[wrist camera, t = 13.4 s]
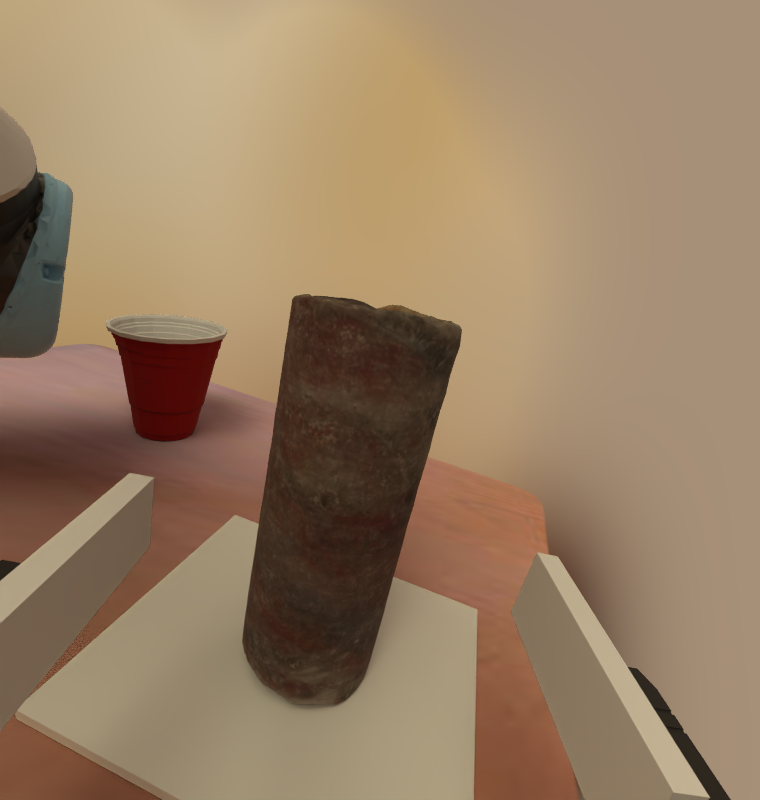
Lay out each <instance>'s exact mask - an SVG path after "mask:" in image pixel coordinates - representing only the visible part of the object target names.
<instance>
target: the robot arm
mask: <svg viewBox="0 0 760 800" xmlns="http://www.w3.org/2000/svg"><path fill="white" fill-rule="evenodd" d="M72 202H73V193H72V190H71V188H70V187H69V186H68V185H67V184H65V183H64V182H62V181H60V180H57V179H55V178H54V177H52V176H51V175H50V174H48V173H40V172H39V173H37V165H36V157H35V154H34V150H33V147H32V144H31V141H30V139H29V137H28V136H27V135H26V133H25V131H24V130H23V129H22V127H21V126H20V125H19V124H18V123H17V122H16V121H15V120H14V119H13V118H12V117H11V116H10V115H9V114H8V113H6V112H5V111H4V110H3V109H2V108H1V107H0V358H31V357H36V356H39V355H42V354H44V353H45V352H47V351H48V350H49V349H50V348H51V347H52V346H53V344H54V342H55V339H56V335H57V330H58V323H59V317H60V308H61V301H62V292H63V282H64V271H65V266H66V257H67V252H68V242H69V234H70V225H71V213H72ZM153 491H154V477H149V476H144V475H139V474H133V473H129V474H128V475H127V476H126V477H124V478H123V479H122V480H121V481H120V482H118V483H117V484H116V485H115V486H114V487H112V488H111V489H110V490H109V491H107V492H106V493H105V494H104V495H103V496H101V497H100V498H99V499H98V500H97V501H95V502H94V503H93V504H92V505H91V506H89V507H88V508H87V509H86V510H85V511H83V512H82V513H81V514H80V515H79V516H77V517H76V518H75V519H74V520H73V521H71V522H70V523H69V524H68V525H67V526H65V527H64V528H63V529H62V530H61V531H59V532H58V533H57V534H56V535H55V536H53V537H52V538H51V539H50V540H49V541H47V542H46V543H45V544H44V545H43V546H41V547H40V548H39V549H38V550H37V551H35V552H34V553H33V554H32V555H31V556H29V557H28V558H27V559H26V560H25V561H23V562H22V563H17V562H11V561H5V560H1V561H0V731H1V730H2V729H3V728H4V726H5V725H6V724H7V723H8V721H9V720H10V719H11V718H12V716H13V715H14V714H15V713H16V711H17V710H18V709H19V708H20V707H21V705H22V704H23V703H24V702H25V700H26V699H27V698H28V697H29V695H30V694H31V693H32V692H33V690H34V689H35V688H36V687H37V686H38V684H39V683H40V682H41V681H42V679H43V678H44V677H45V676H46V674H47V673H48V672H49V671H50V669H51V668H52V667H53V666H54V665H55V663H56V662H57V661H58V660H59V658H60V657H61V656H62V655H63V653H64V652H65V651H66V650H67V649H68V647H69V646H70V645H71V644H72V642H73V641H74V640H75V639H76V637H77V636H78V635H79V634H80V632H81V631H82V630H83V629H84V628H85V626H86V625H87V624H88V623H89V621H90V620H91V619H92V618H93V616H94V615H95V614H96V613H97V611H98V610H99V609H100V608H101V607H102V605H103V604H104V603H105V602H106V600H107V599H108V598H109V597H110V595H111V594H112V593H113V592H114V590H115V589H116V588H117V587H118V586H119V584H120V583H121V582H122V581H123V579H124V578H125V577H126V576H127V574H128V573H129V572H130V571H131V569H132V568H133V567H134V566H135V565H136V563H137V562H138V561H139V560H140V558H141V557H142V556H143V555H144V553H145V552H146V551H147V550H148V549H149V547H150V537H151V522H152V506H153ZM511 614H512V616H513V619H514V621H515V624H516V627H517V629H518V632H519V634H520V637H521V639H522V642H523V644H524V647H525V649H526V652H527V655H528V657H529V660H530V662H531V665H532V667H533V670H534V672H535V675H536V677H537V680H538V682H539V685H540V688H541V690H542V693H543V695H544V698H545V700H546V703H547V705H548V708H549V710H550V713H551V716H552V718H553V721H554V723H555V726H556V728H557V731H558V733H559V736H560V738H561V741H562V743H563V746H564V749H565V751H566V754H567V756H568V759H569V761H570V764H571V766H572V769H573V771H574V774H575V776H576V779H577V782H578V784H579V787H580V789H581V792H582V794H583V797H584V799H585V800H730V798H729V797H728V795H727V794H726V792H725V791H724V789H723V788H722V786H721V785H720V783H719V782H718V780H717V779H716V777H715V776H714V774H713V773H712V771H711V770H710V768H709V767H708V765H707V764H706V762H705V761H704V759H703V758H702V756H701V755H700V753H699V752H698V750H697V749H696V747H695V746H694V744H693V743H692V741H691V740H690V738H689V737H688V735H687V734H685V733H684V732H683V728H682V726H681V725H680V723H679V722H678V720H677V719H676V717H675V716H674V715H672V714H671V710H670V709H669V707H668V705H667V704H666V702H665V701H664V699H663V698H662V697H661V695H660V693H659V692H658V690H657V689H656V688H655V687H654V686H653V685H652V684H651V683H650V682H649V681H648V679H646V677H645V676H644V675H643V674H642V673H641V672H640V671H639V670H638V669H636V668H630V667H627V666H626V664H625V662H624V661H623V660H622V658H621V656H620V655H619V653H618V651H617V650H616V648H615V647H614V645H613V643H612V642H611V640H610V639H609V637H608V636H607V634H606V632H605V631H604V629H603V628H602V626H601V625H600V623H599V621H598V620H597V618H596V617H595V615H594V613H593V612H592V610H591V609H590V607H589V605H588V604H587V602H586V601H585V599H584V598H583V596H582V594H581V593H580V591H579V590H578V588H577V586H576V585H575V583H574V582H573V580H572V579H571V577H570V575H569V574H568V572H567V571H566V569H565V567H564V566H563V564H562V563H561V561H560V560H559V558H558V557H557V556H552V555H547V554H542V553H537V554H536V556H535V559H534V561H533V563H532V565H531V568H530V570H529V572H528V574H527V577H526V579H525V581H524V583H523V586H522V588H521V590H520V593H519V595H518V597H517V599H516V602H515V604H514V606H513V608H512V611H511Z"/></svg>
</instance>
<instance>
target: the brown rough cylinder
mask: <svg viewBox="0 0 760 800" xmlns="http://www.w3.org/2000/svg"><path fill="white" fill-rule="evenodd" d="M461 332H462V329H461V327H460V326H459V325H457V324H455V323H453V322H452V321H446V320H440V319H436V318H434V317H432V316H427V315H424V314H421V313H419V312H416V311H413V310H411V309H408V308H406V307H403V306H398V305H389V306H385V307H382V308H378V309H376V308H374V307H372V306H370V305H368V304H366V303H364V302H361V301H358V300H354V299H347V298H335V297H327V296H311V295H309V294H304V295H299V296H295V297H294V298H293V299H292V306H291V312H290V320H289V327H288V333H287V339H286V345H285V352H284V360H283V366H282V373H281V380H280V387H279V395H278V402H277V407H276V413H275V420H274V429H273V437H272V443H271V449H270V455H269V462H268V469H267V475H266V482H265V488H264V495H263V502H262V507H261V513H260V521H259V527H258V532H257V539H256V546H255V553H254V559H253V565H252V570H251V577H250V585H249V591H248V599H247V607H246V613H245V620H244V628H243V638H242V644H243V648H244V653H245V654H246V658H247V661H248V663H249V664H250V666H251V668H252V669H253V671H254V672H255V674H256V676H257V678H258V679H259V680H260V681H261V683H262V684H263V685H265V686H267V687H268V688H270V689H272V690H273V691H275V692H276V693H278V694H279V695H280V696H282V697H283V698H285V699H286V700H288V701H289V702H291V703H295V704H311V705H314V704H335V705H336V704H339V703H341V702H343V701H345V700H346V699H347V698H349V697H350V696H351V695H352V694H353V693H354V692H355V691H356V690H357V688H358V687H359V685H360V683H361V682H362V680H363V678H364V676H365V674H366V671H367V668H368V666H369V663H370V659H371V656H372V652H373V649H374V645H375V642H376V638H377V635H378V632H379V628H380V625H381V621H382V618H383V614H384V610H385V606H386V602H387V598H388V595H389V591H390V588H391V584H392V580H393V576H394V572H395V568H396V565H397V562H398V558H399V555H400V551H401V547H402V544H403V540H404V536H405V532H406V529H407V525H408V521H409V518H410V515H411V512H412V509H413V506H414V502H415V498H416V494H417V490H418V486H419V483H420V480H421V477H422V473H423V470H424V467H425V463H426V460H427V457H428V453H429V450H430V446H431V441H432V437H433V434H434V430H435V427H436V423H437V420H438V416H439V413H440V409H441V406H442V403H443V400H444V397H445V395H446V390H447V386H448V382H449V377H450V374H451V371H452V367H453V364H454V361H455V358H456V356H457V353H458V350H459V347H460V340H461Z"/></svg>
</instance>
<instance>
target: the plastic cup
mask: <svg viewBox="0 0 760 800" xmlns="http://www.w3.org/2000/svg"><path fill="white" fill-rule="evenodd" d="M106 327H107V329H108V331H110V332H111V333H112V335H113V337H114V338H115V341H116V345H117V346H118V350H119V354H120V356H121V360H122V366H123V371H124V377H125V382H126V387H127V393H128V398H129V403H130V404H131V411H132V417H133V423H134V427H135V429H136V433H138V434H139V435H140V436H142V437H144V438H148V439H151V440H158V441H174V440H179V439H183V438H186V437H188V436H190V435H191V434H192V433H193V431H194V429H195V427H196V425H197V421H198V418H199V414H200V411H201V407H202V405H203V403H204V400H205V396H206V393H207V389H208V385H209V382H210V378H211V375H212V371H213V367H214V364H215V360H216V358H217V356H218V351H219V349H220V346H221V342H222V340H223V339H224V337H225V336H226V334H227V331H228V330H227V329H226V328H225V327H224V326H223V325H220V324H217V323H214V322H212V321H207V320H203V319H198V318H192V317H184V316H175V315H156V314H146V315H145V314H143V315H126V316H121V317H114V318H112V319H109V320H107V321H106Z"/></svg>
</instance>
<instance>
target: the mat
mask: <svg viewBox="0 0 760 800" xmlns="http://www.w3.org/2000/svg"><path fill="white" fill-rule="evenodd" d="M258 527H259V524H258V523H255V522H253V521H250V520H247V519H245V518H242V517H240V516H237V515H234V516H233V517H232V518H231V519H230V520H229V521H228V522H226V523H225V524H224V525H223V526H222V527H221V528H220V529H219V530H217V531H216V532H215V533H214V534H213V535H212V536H211V537H210V538H208V539H207V540H206V541H205V542H204V543H203V544H202V545H200V546H199V547H198V548H197V549H196V550H195V551H194V552H193V553H191V554H190V555H189V556H188V557H187V558H186V559H185V560H184V561H182V562H181V563H180V564H179V565H178V566H177V567H176V568H174V569H173V570H172V571H171V572H170V573H169V574H168V575H167V576H165V577H164V578H163V579H162V580H161V581H160V582H159V583H158V584H156V585H155V586H154V587H153V588H152V589H151V590H150V591H148V592H147V593H146V594H145V595H144V596H143V597H142V598H141V599H139V600H138V601H137V602H136V603H135V604H134V605H133V606H131V607H130V608H129V609H128V610H127V611H126V612H125V613H124V614H122V615H121V616H120V617H119V618H118V619H117V620H116V621H115V622H113V623H112V624H111V625H110V626H109V627H108V628H107V629H105V630H104V631H103V632H102V633H101V634H100V635H99V636H98V637H96V638H95V639H94V640H93V641H92V642H91V643H90V644H89V645H87V646H86V647H85V648H84V649H83V650H82V651H81V652H79V653H78V654H77V655H76V656H75V657H74V658H73V659H72V660H70V661H69V662H68V663H67V664H66V665H65V666H64V667H63V668H61V669H60V670H59V671H58V672H57V673H56V674H55V675H53V676H52V677H51V678H50V679H49V680H48V681H47V682H46V683H44V684H43V685H42V686H41V687H40V688H39V689H38V690H36V691H35V692H34V693H33V694H32V695H31V696H30V697H29V698H27V699H26V700H25V702H24V703H23V704H22V705H21V707H20V708H19V709H18V710H17V711H16V713H15V715H16V719H17V720H19V721H21V722H22V723H24V724H26V725H28V726H30V727H32V728H33V729H35V730H37V731H39V732H41V733H42V734H44V735H46V736H48V737H50V738H51V739H53V740H55V741H57V742H59V743H61V744H62V745H64V746H66V747H68V748H70V749H71V750H73V751H75V752H77V753H79V754H80V755H82V756H84V757H86V758H88V759H90V760H91V761H93V762H95V763H97V764H99V765H100V766H102V767H104V768H106V769H108V770H109V771H111V772H113V773H115V774H117V775H119V776H120V777H122V778H124V779H126V780H128V781H129V782H131V783H133V784H135V785H137V786H138V787H140V788H142V789H144V790H146V791H148V792H149V793H151V794H153V795H155V796H157V797H158V798H160V799H162V800H474V757H475V708H476V658H477V609H475V608H472V607H470V606H467V605H465V604H462V603H460V602H457V601H454V600H452V599H449V598H447V597H444V596H442V595H439V594H437V593H434V592H431V591H429V590H426V589H424V588H421V587H419V586H416V585H414V584H411V583H408V582H406V581H403V580H401V579H398V578H396V577H393V580H392V584H391V588H390V591H389V595H388V598H387V602H386V606H385V610H384V614H383V618H382V621H381V625H380V628H379V632H378V635H377V638H376V642H375V645H374V649H373V652H372V656H371V659H370V663H369V666H368V668H367V671H366V674H365V676H364V678H363V680H362V682H361V683H360V685H359V687H358V688H357V690H356V691H355V692H354V693H353V694H352V695H351V696H350V697H349V698H347V699H346V700H345V701H343V702H341V703H339V704H336V705H335V704H314V705H311V704H295V703H291V702H289V701H288V700H286V699H285V698H283V697H282V696H280V695H279V694H278V693H276V692H275V691H273V690H272V689H270V688H268V687H267V686H265V685H263V684H262V683H261V681H260V680H259V679H258V678H257V676H256V674H255V672H254V671H253V669H252V668H251V666H250V664H249V663H248V661H247V658H246V654H245V653H244V648H243V644H242V638H243V628H244V620H245V613H246V607H247V599H248V591H249V585H250V577H251V570H252V565H253V559H254V553H255V546H256V539H257V532H258Z"/></svg>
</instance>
